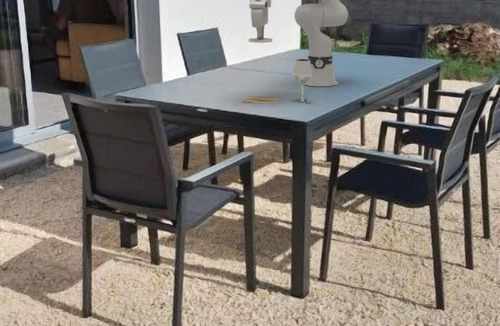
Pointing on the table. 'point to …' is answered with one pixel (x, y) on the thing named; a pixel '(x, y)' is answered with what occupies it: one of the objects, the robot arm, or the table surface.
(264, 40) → the lid
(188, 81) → the table surface
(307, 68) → the wineglass
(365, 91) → the table surface
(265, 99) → the mat
